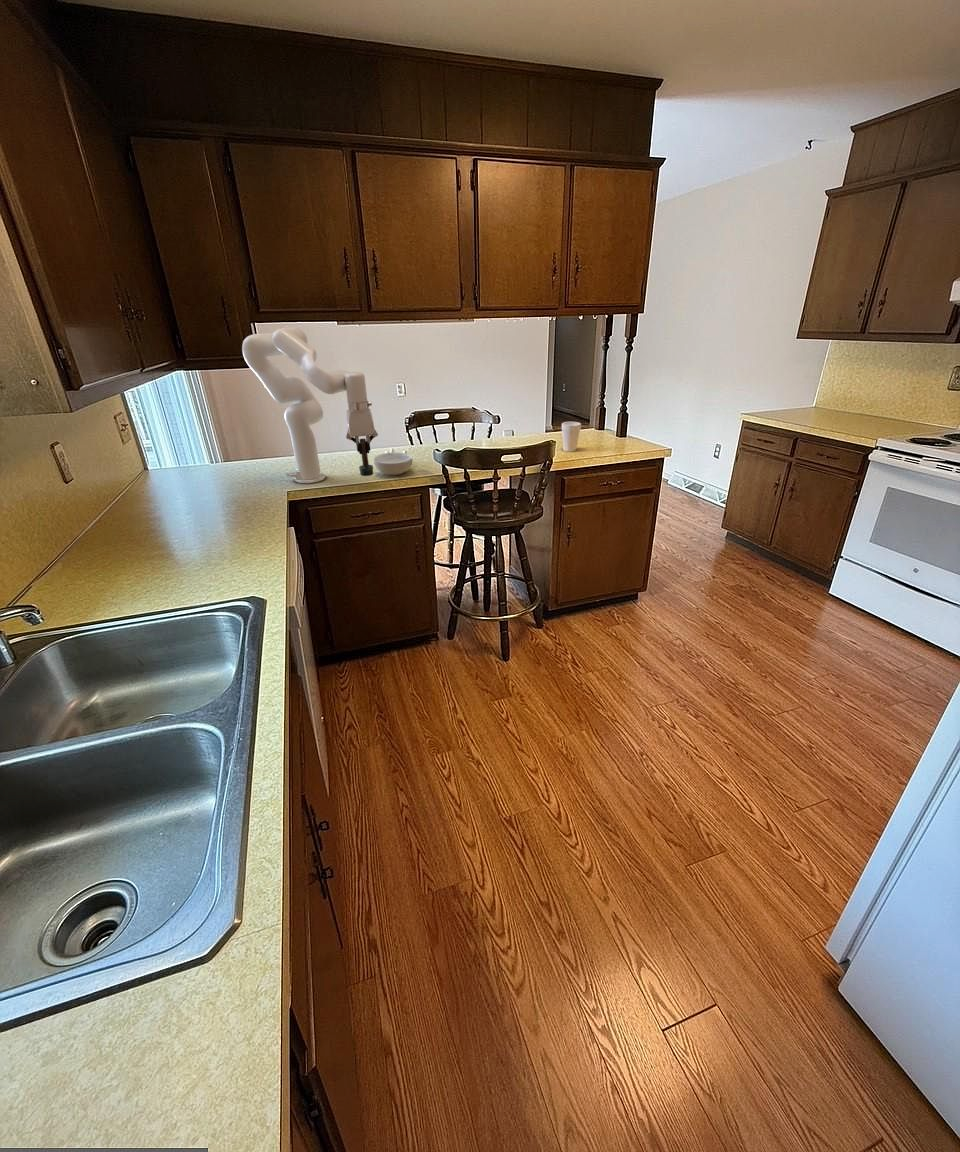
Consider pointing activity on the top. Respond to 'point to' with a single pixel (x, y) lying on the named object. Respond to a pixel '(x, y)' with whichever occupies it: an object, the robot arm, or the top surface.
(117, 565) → the top surface
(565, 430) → the foam cup
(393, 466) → the cereal bowl
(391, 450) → the bracket
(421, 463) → the top surface
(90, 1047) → the top surface
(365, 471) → the brush
